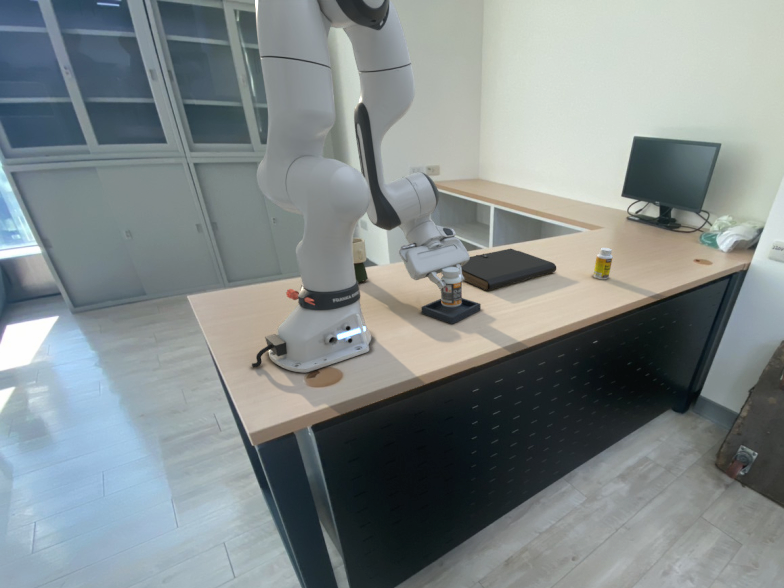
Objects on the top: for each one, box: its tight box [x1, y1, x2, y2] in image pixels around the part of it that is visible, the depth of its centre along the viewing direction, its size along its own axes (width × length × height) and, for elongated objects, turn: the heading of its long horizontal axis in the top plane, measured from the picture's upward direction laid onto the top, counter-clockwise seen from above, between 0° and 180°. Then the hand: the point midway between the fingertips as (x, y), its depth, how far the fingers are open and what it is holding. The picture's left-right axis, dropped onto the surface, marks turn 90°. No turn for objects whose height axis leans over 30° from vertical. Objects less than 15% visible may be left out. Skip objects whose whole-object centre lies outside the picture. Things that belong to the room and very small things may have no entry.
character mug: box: [352, 237, 369, 283], centre depth 128 cm, size 11×7×13 cm, turn 46°
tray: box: [420, 297, 482, 325], centre depth 114 cm, size 13×11×2 cm
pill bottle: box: [440, 267, 463, 307], centre depth 110 cm, size 6×6×10 cm
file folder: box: [461, 248, 557, 292], centre depth 145 cm, size 33×4×24 cm
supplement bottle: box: [592, 247, 613, 280], centre depth 145 cm, size 6×6×10 cm
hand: (452, 284), depth 110 cm, fingers closed on pill bottle, 6 cm apart
